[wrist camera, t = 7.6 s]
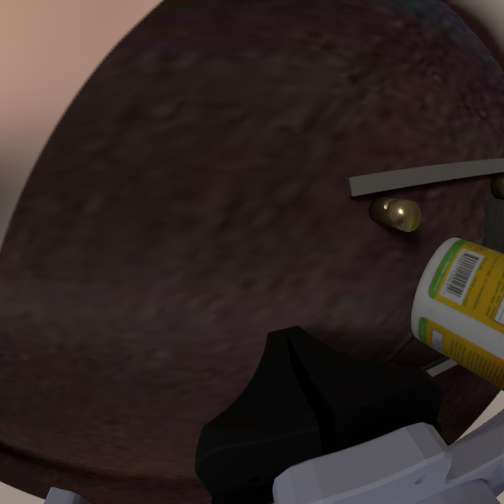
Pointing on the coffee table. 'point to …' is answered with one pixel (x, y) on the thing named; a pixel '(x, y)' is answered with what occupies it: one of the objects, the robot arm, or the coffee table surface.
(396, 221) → the frame
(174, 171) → the coffee table surface
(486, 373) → the supplement bottle
